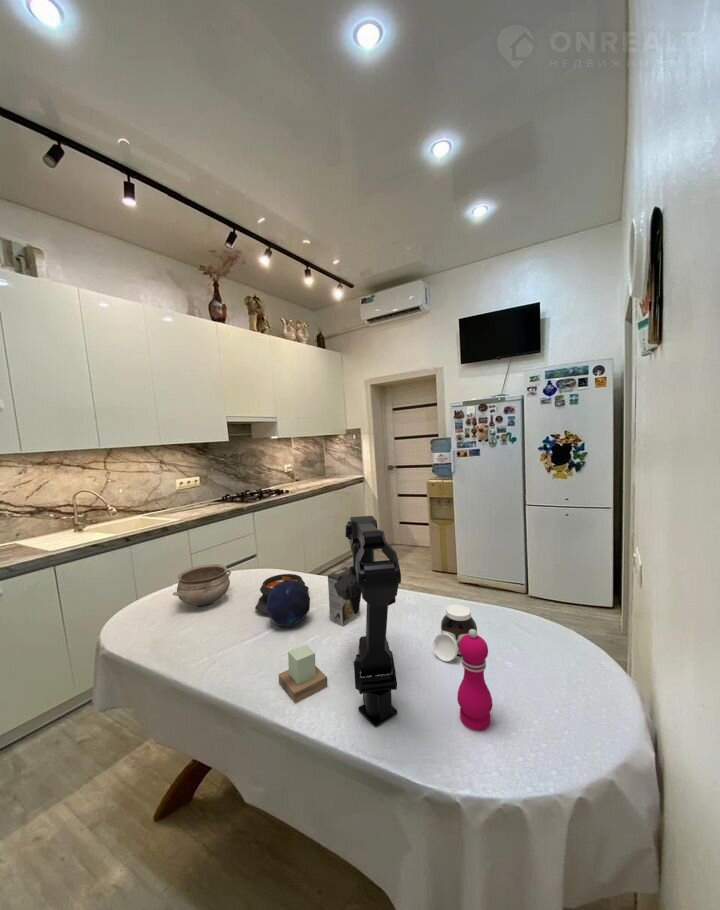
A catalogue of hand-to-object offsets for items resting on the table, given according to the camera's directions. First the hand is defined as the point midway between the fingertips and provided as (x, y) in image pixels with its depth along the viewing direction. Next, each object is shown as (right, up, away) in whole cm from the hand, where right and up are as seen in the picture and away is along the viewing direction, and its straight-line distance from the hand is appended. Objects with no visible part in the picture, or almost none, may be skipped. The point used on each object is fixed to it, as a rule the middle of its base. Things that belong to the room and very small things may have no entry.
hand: (366, 620), depth 96 cm
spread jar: (+26, -12, +5) cm, 29 cm away
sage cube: (-16, -11, -6) cm, 21 cm away
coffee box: (-7, -12, +28) cm, 31 cm away
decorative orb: (-26, -13, +26) cm, 39 cm away
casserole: (-31, -13, +42) cm, 54 cm away
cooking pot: (-62, -14, +44) cm, 77 cm away
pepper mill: (+23, -13, -19) cm, 33 cm away
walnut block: (-16, -15, -5) cm, 22 cm away
